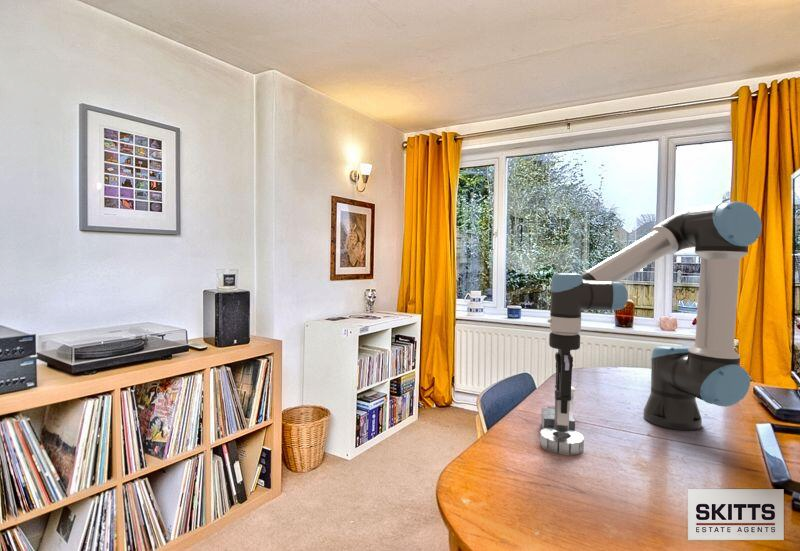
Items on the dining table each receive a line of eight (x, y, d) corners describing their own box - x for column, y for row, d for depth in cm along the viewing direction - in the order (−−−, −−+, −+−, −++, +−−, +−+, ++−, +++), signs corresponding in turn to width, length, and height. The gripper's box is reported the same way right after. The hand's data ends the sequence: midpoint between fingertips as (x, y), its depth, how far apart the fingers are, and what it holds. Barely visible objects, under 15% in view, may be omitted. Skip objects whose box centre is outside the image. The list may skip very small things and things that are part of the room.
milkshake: (578, 417, 137) (579, 385, 137) (560, 415, 138) (561, 384, 138) (575, 412, 142) (576, 381, 141) (558, 411, 143) (559, 380, 142)
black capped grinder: (568, 427, 117) (569, 390, 117) (570, 432, 113) (571, 394, 113) (552, 425, 118) (554, 388, 117) (554, 431, 114) (555, 393, 114)
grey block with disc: (573, 424, 131) (573, 408, 131) (586, 457, 109) (586, 437, 109) (536, 421, 133) (536, 405, 133) (542, 452, 112) (542, 432, 112)
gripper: (546, 327, 124) (544, 409, 125) (552, 337, 107) (549, 432, 108) (575, 328, 122) (572, 412, 123) (585, 339, 106) (582, 435, 106)
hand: (561, 421), depth 115 cm, fingers closed on black capped grinder, 4 cm apart
